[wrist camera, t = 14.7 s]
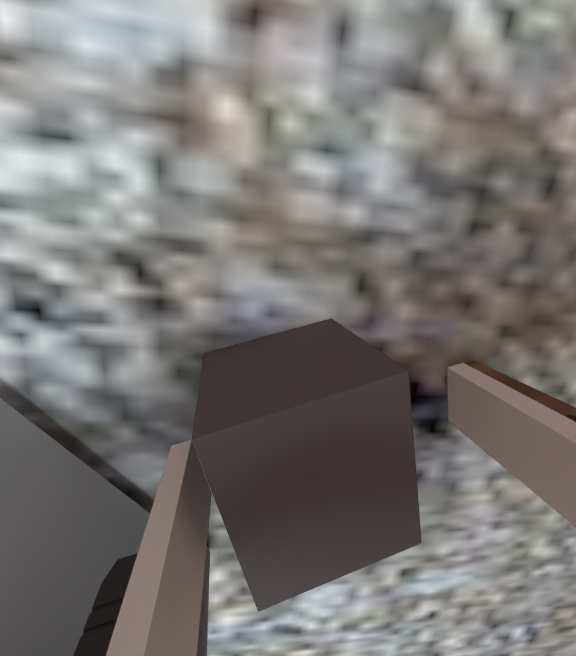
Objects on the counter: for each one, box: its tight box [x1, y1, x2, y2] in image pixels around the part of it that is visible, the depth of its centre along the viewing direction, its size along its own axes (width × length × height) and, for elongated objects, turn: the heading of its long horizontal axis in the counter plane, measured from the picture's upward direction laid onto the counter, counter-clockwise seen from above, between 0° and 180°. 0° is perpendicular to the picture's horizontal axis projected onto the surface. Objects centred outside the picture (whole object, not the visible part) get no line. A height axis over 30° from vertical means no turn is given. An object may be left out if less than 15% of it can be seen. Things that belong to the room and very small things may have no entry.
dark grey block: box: [192, 319, 421, 611], centre depth 11 cm, size 7×6×6 cm
